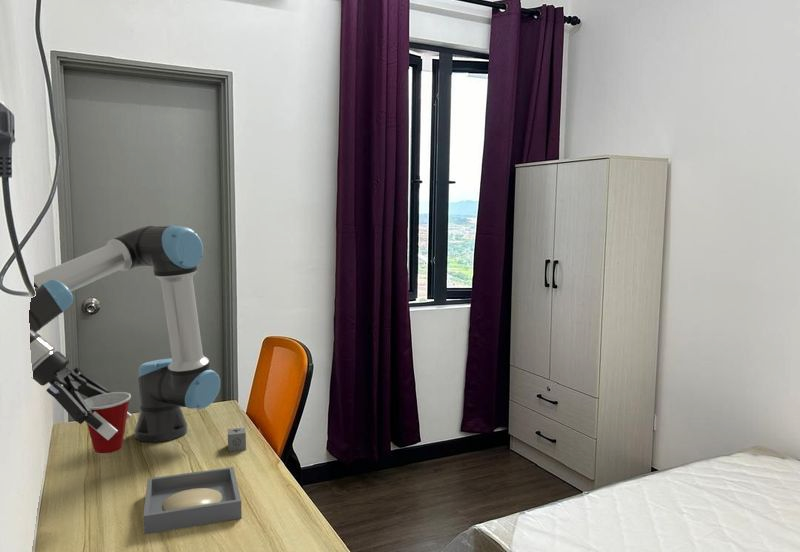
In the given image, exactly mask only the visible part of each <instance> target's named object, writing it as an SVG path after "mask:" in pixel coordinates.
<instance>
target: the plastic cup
mask: <svg viewBox="0 0 800 552" xmlns="http://www.w3.org/2000/svg"><path fill="white" fill-rule="evenodd" d="M111 392H112V393H105V394H100V395H96V396H93V397H90V398H89V397H86V398H84V399H83V400H84V401H85V402H86V404H87V405H88V407H89V408H90V410H91V411H92V414H93V413H94V412H97V413H98V414H99V415H100V416H101V417H103V418H104V419H105V420H106V421H107V422H109V423H110V424H111V425H112V426H113V427H114V428H116V429H117V430H118V431H117V432H116V433H115V434H114V435H113V436H112V437H111V438H110V439H109V440H107V439H106V438H104V437H103V436H102V435H101V434H100V433H98V432H97V431H96V430H95V429H94V428H92V427H91V426H90V425H89V424H88V423H86V425H87V427H88V433H89V436H90V439H91V443H92V448H93V450H94V452H95V453H97V454H109V453H114V452H117V451H119V450H121V449H122V448H123V443H124V437H125V432H126V425H127V424H126V423H127V420H126V418H127V412H128V410H129V406H130V405H129V403H130V400H131V398H132V395H131V393H129V392H127V391H126V392H125V391H115V392H113V391H111Z"/></svg>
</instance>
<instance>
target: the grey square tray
mask: <svg viewBox="0 0 800 552" xmlns="http://www.w3.org/2000/svg"><path fill="white" fill-rule="evenodd" d="M146 481H147V482H146V488H145V489H146V490H145V500H144V506H143V507H144V509H143V516H142V517H143V518H142V519H143V534H144V535H149V534H155V533H160V532H166V531H167V532H168V531H173V530H180V529H185V528H191V527H198V526H203V525H208V524H214V523H215V524H216V523H222V522H229V521H233V520H240V519H242V518H243V517H242V516H243V515H242V512H243V511H242V499H241V494H240V490H239V485H238V480H237V477H236V472H235V467H234V466H230V467H223V468H215V469H208V470H200V471H194V472H193V471H192V472H186V473H178V474H170V475H163V476H157V477H148V478H147V480H146Z"/></svg>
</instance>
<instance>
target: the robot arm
mask: <svg viewBox="0 0 800 552" xmlns="http://www.w3.org/2000/svg"><path fill="white" fill-rule="evenodd" d="M203 255H204V246H203V241H202V240H201V238H200V236H199V235H198V234H197V233H196V232H195V231H194V230H193V229H191V228H189V227H187V226H179V225H156V226H155V225H148V226H142V227H139V228H135V229H133V230H131V231H129V232H126V233H123V234H120V235H118V236H116V237H113V238H111V239H109V240H108V241H107V242H106V244H105V245H104V246H102V247H99V248H97V249H95V250H92V251H90V252H87V253H85V254H81V255H80V256H77V257H75V258H73V259H70V260H68V261H66V262H64V263H61V264H58V265H55V266H53V267H51V268H49V269H46V270H44V271H41V272H39V273H36V274H34V275H33V276H34V287H35V291H36V296H35V297H33V298H31V302H30V310H29V323H30V350H31V363H32V371H33V378H32V379H33V380H34V381H35V382H36V383H38V384H39V385H40V386H46V385H47V384H48V383H49V384H50V386H48V388H47V389H46V390H45V391H46V392H47V393H48V394H49V395H50V396H51V397H53V398H54V399H55V400H56V401H57V403H59V405H60V406H61V407H62V408H63V409H64V410H65V411H66V413H68V414H69V415H70V417H71V418H72V419H73V420H74V421H75V423H78V424H79V425H82V424H83V423H84V422H85V423H86V424H87V423H88V424H89V425H90V426H91V427H92V428H94V429H95V430H96V431H97V432H98V433H100V434H101V435H102V436H103V437H104V438H106V439H107V440H109V439H110V438H111V437H112V436H113V435H114V434H115V433H116V432H117V431H118V430H117V429H116V428H114V427H113V426H112V425H111V424H110V423H109V422H107V421H106V420H105V419H104V418H103V417H101V416H100V415H99V414H98V413H97V412H94V413H93V414H92V411H91V410H90V408H89V407H88V405H87V404H86V402H85V401H84V400H85V399H84V398H83V397H82V396H81V395H83V396H85V397H86V398H90V397H93V396H96V395H100V394H105V393H112V392H113V391H111V390H109V389H108V388H106V387H105V386H104V385H102V384H101V383H99V382H98V381H96V380H94V379H93V378H92V377H90V376H88V375H87V374H85V373H84V372H83V371H82V370H81V369H79V367H75V368H74V369H73V370H71V369H69V368H68V367H67V366H68V365H69V363H70V360H69V359H68V358H67V357H66V356H65V355H63V353H61V352H60V351H57V350H56V348H55V347H54V346H53V345H52V343H50V342H49V341H48V340H46V339H45V338H44V337H42V335H40V334H39V333H38V331H40V330H41V329H43V327H45V326H46V325H48V324H49V323H50V322H52V321H53V320H54V319H56V318H57V317H58V316H59V315H61V314H63V313H65V311H66V310H67V309H68V308H69V307H70V306H71V305H72V304H73V303H74V295H73V293H72V292H74V291H76V290H78V289H80V288H82V287H85V286H87V285H90V284H91V283H93V282H96V281H98V280H100V279H103V278H104V277H107V276H109V275H112V274H114V273H117V272H118V271H121V272H127V271H129V270H131V269H134V268H139V267H152V269H153V274H154V277H155V278H156V279H158V280H159V281H160V282H161V283H160V284H161V291H162V297H163V304H164V311H165V317H166V324H167V325H166V326H167V331H168V332H167V333H168V339H169V346H170V352H171V353H170V354H171V358H170V357H169V358H162V359H155V360H151V361H147V362H143V363H142V364H140V366H138V375H137V378H138V394H139V414H138V418H137V422H136V425H135V428H134V438H135V440H137V441H140V442H146V443H157V442H158V443H159V442H166V441H171V440H175V439H178V438H180V437H182V436H184V435H185V434H187V432H188V422H187V419H186V417H185V415H184V413H183V410H182V408H181V407H185V408H187V409H190V410H193V409H197V410H203V409H206V408H208V407H209V406H210V405H211V404H213V402H214V401H215V400H216V399H217V396H218V395H219V393H220V390H221V377H220V375H219V374H218V372H216V371H215V370H213V369H211V365H210V360H209V358H208V357H206V356H205V355H204V353H203V345H202V344H203V343H202V338H201V331H200V324H199V316H198V309H197V308H198V306H197V301H196V292H195V287H194V279H193V277H194V275H195V274H196V273H197V272H198V267H197V266H199V264H200V262H201V261H202V259H201V258H203ZM55 350H56V351H55ZM131 416H132V414H131V413H130V412H129V411H127V418H126V421H127V420H128V419H129V418H130V417H131Z"/></svg>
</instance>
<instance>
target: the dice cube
mask: <svg viewBox="0 0 800 552" xmlns="http://www.w3.org/2000/svg"><path fill="white" fill-rule="evenodd" d="M246 433H247V432H246V427H237V428H227V451H228V452H237V451H245V450H247V434H246Z"/></svg>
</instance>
